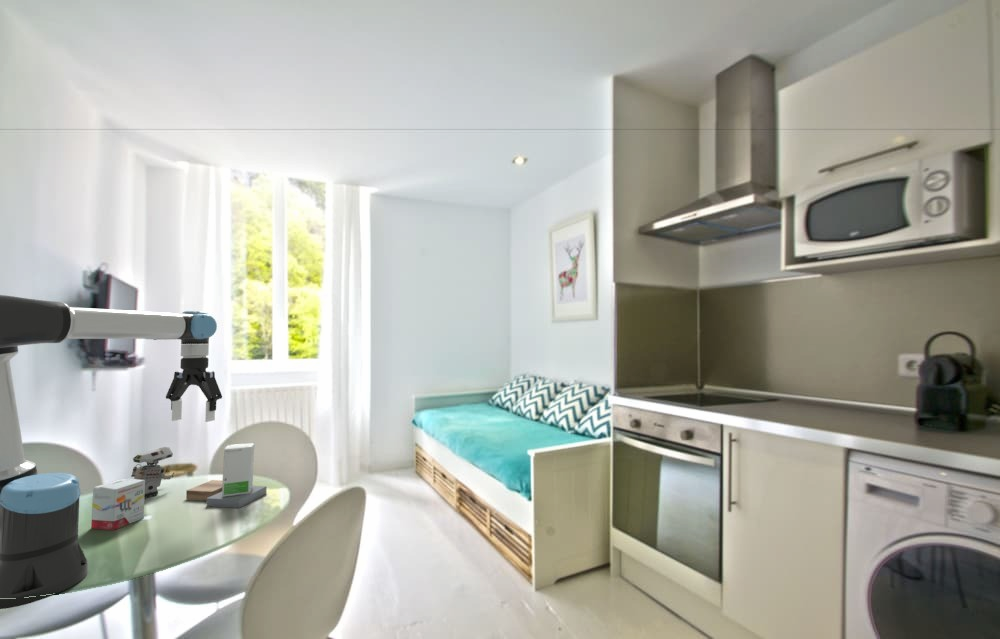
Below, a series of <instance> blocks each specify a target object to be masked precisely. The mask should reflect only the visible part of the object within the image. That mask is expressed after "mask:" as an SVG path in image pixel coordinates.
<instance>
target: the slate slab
mask: <svg viewBox="0 0 1000 639" xmlns="http://www.w3.org/2000/svg"><path fill="white" fill-rule="evenodd" d="M265 495H267V486H265V485H264V486H262V485H252V489H251V492H250V493H249V494H241V495H234V496H226V497H222V492H220V493H217V494H215V495H213V496H211V497H208V498H207V501H206V507H218V508H231V509H233V508H235V509H240V508H242V507H243V506H245V505H247V504H249V503H252V502H253V501H255V500H258V499H259V498H261V497H263V496H265Z"/></svg>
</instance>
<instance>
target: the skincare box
mask: <svg viewBox="0 0 1000 639" xmlns="http://www.w3.org/2000/svg"><path fill="white" fill-rule="evenodd" d="M254 460H255V442H250V443H238V444H227V446H225V447H224V449H223V466H222V481H223V483H222V497H226V496H234V495H241V494H249V493H250V492H251V489H252V486H254V485H253V484H254V482H253V480H254Z"/></svg>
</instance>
